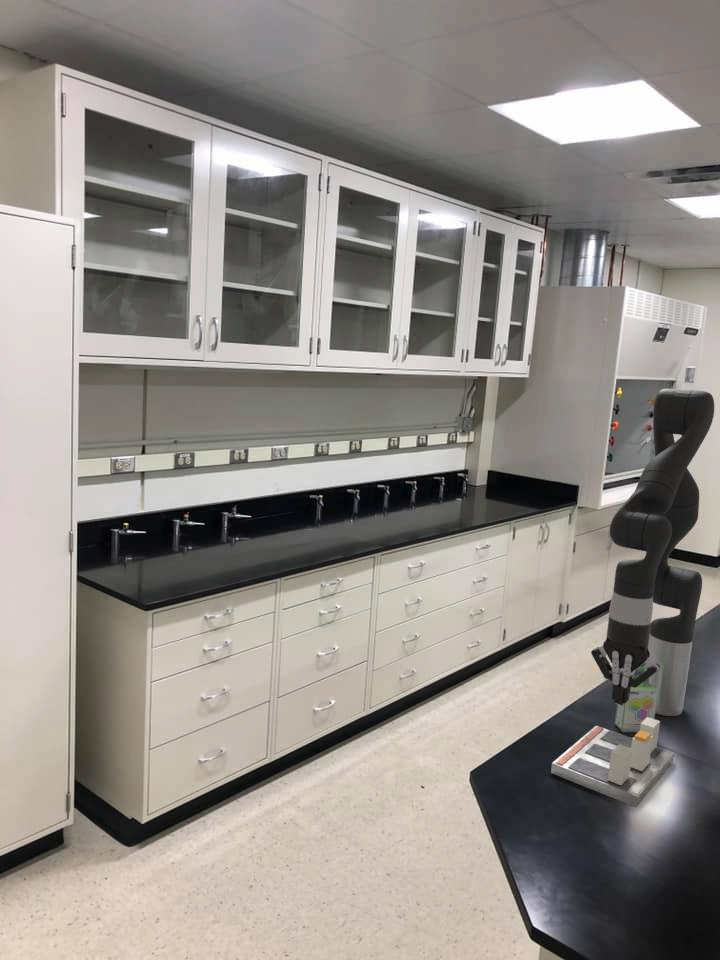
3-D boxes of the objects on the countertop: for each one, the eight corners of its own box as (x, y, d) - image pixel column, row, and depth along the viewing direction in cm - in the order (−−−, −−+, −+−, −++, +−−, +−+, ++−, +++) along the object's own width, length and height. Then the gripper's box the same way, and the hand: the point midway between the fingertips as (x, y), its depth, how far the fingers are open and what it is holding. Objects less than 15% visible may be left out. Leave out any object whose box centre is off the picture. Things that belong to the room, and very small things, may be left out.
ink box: (622, 733, 163) (630, 673, 161) (613, 724, 167) (621, 665, 165) (652, 733, 164) (661, 673, 162) (643, 724, 168) (651, 666, 166)
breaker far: (643, 742, 154) (647, 717, 153) (656, 747, 153) (660, 721, 152) (637, 749, 151) (640, 723, 150) (650, 754, 149) (653, 727, 149)
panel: (595, 734, 161) (596, 724, 161) (673, 762, 152) (674, 752, 151) (550, 772, 144) (552, 762, 144) (636, 807, 134) (637, 795, 134)
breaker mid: (635, 758, 147) (639, 728, 146) (648, 763, 146) (653, 733, 145) (628, 766, 144) (632, 735, 143) (642, 771, 143) (646, 740, 142)
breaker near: (615, 772, 142) (619, 744, 141) (629, 777, 140) (632, 748, 139) (607, 780, 138) (611, 751, 138) (621, 785, 137) (625, 756, 136)
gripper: (672, 620, 143) (661, 708, 145) (603, 603, 151) (593, 686, 153) (660, 630, 137) (648, 721, 140) (588, 612, 145) (578, 698, 148)
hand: (619, 703), depth 147 cm, fingers closed
